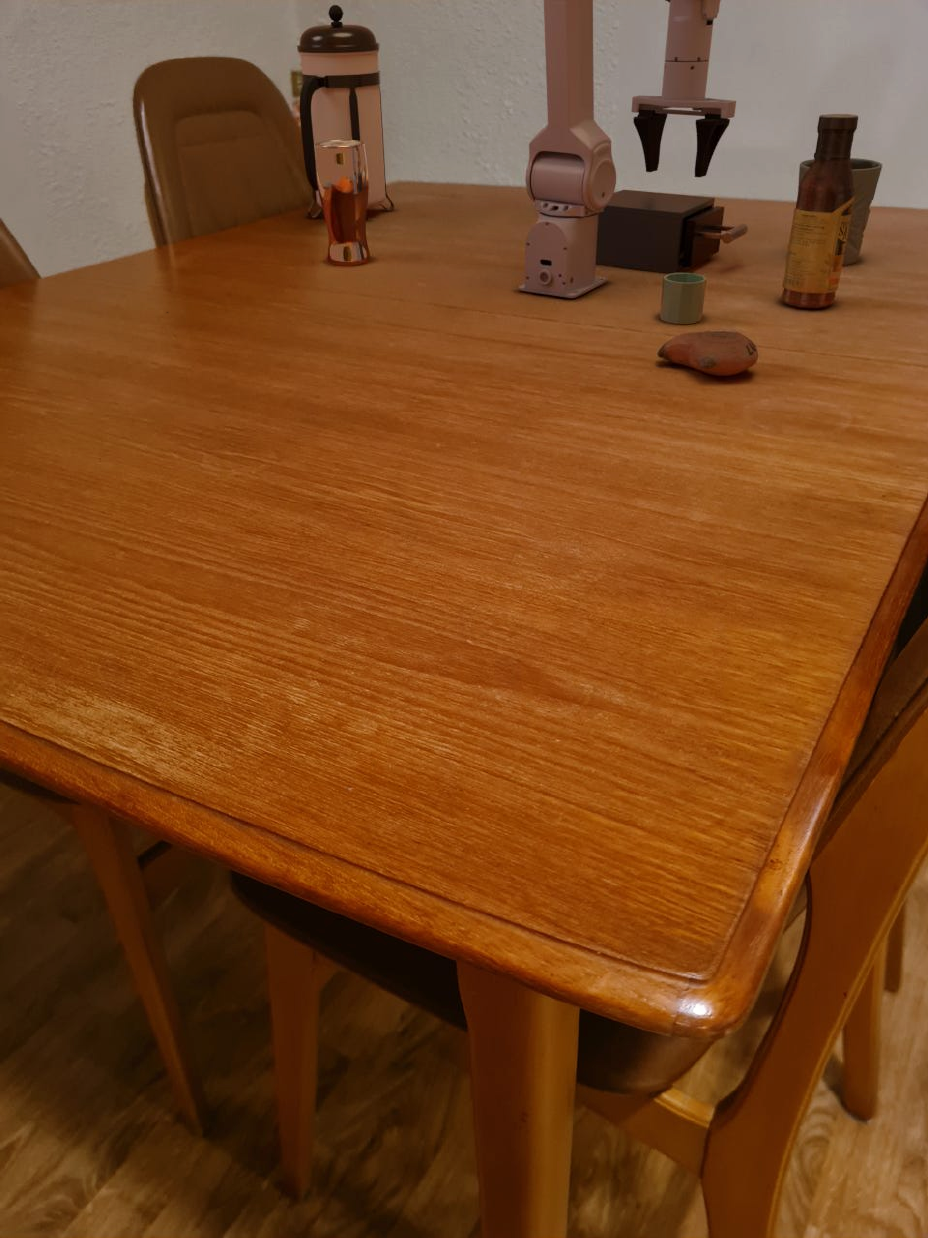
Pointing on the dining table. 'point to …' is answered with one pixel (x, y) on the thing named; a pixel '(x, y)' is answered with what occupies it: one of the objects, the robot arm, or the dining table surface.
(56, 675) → the dining table surface
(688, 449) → the dining table surface
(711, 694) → the dining table surface
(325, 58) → the coffee press
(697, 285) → the jar
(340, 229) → the beer glass
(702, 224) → the drawer
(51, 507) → the dining table surface
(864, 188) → the grey tapered cup
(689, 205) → the dark grey cabinet
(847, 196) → the sauce bottle
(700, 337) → the sweet potato
